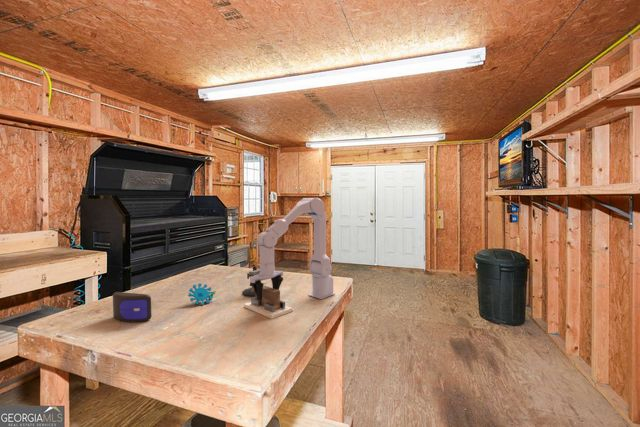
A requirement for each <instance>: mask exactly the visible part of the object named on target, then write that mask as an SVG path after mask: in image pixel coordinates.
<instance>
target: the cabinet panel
mask: <svg viewBox="0 0 640 427" xmlns="http://www.w3.org/2000/svg"><path fill="white" fill-rule="evenodd" d="M243 307H244V308H246V309H248V310H250V311H253V312H255V313H258V314H260V315H262V316H265V317H266V318H268V319H275V318H277V317H281V316H284V315H286V314H288V313H291V312H293V310H294V309H293V307H291V306H288V305H286V304H285V308H284V309H282V308H280V309H278V310H275V312H270V311H268V310H265V309H264V306H261V305H260V306H259V307H258V306H255V305H253V304H251V301H250V302H245V303H243Z"/></svg>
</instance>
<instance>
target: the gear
mask: <svg viewBox="0 0 640 427" xmlns="http://www.w3.org/2000/svg"><path fill="white" fill-rule="evenodd" d="M202 285H203V284H202V283H201V282H199V283H198V284H193V285H192V287H190V288H189V289H188V295H187V297H189V298H190V299H189V300H190V302H193V301H194V300H195V301H194V305H198V304H199V302H200V304H199V305H200V306H204V305H205V304H209V303H211V302H210V301H211V300H213V298H214V295H216V293H217V291H216V290H213V291H212V287H210V286H209V287H208V284H206V283H205V284H204V285H203V286H202ZM197 286H198V288H197ZM193 289H194V290H193Z"/></svg>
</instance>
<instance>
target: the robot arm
mask: <svg viewBox="0 0 640 427" xmlns="http://www.w3.org/2000/svg"><path fill="white" fill-rule="evenodd" d="M302 214H307V215H309V216H310V217H311V218H312V219H313V254H312V255H311V257H310V262H309V264H308V270H309V272H310V273H311V277H312V278H311V280H312V282H311V284H312V288H311V290H312V293H309V294H307V295H308V296H309V297H312V298H316V299H319V300H322V299H326V298H329V297H331V296H333V295H335V292H334V279H333V276H332V275H331V273H332V270H333V267H332V264H331V259H330V257H329V256H328V255H327V213H326V210H325V202H324V201H323V200H322V199H321V198H319V197H303V198H301V199H300V201H297V203H296V204H295V206H294V207H293V208H292V209H291V210H289V212H288V213H287V214H286V215H285V216H284V217H283V218H278V219H275V220H274V221H273V223H272V224H271V225H269V227H266V229H265V231H262V232H260V233H259V234H258V236H257V239H256V244H257V245H258V246H259V247H258V248H259V253H258V254H259V266H260V268H259V269H260V274H258V275H255V276H253V277H249V283H250V282H251V285H252V286H253V288H254V290H255V293H256V296H257V300H262V289H263V285H264V284H265V283H263V282H262V281H264V280H265V281H266V280H269V279H271V284H272V286H271V287H272V288H274V289H277V290H280V287H281V285H282V282H283V281H284V277H283V276H284V270H275V264H276V263H275V246H276V245H277V244H278V239H280V238H281V237H282V236H283V235H284V234H285V233H286V232H287V231H288V230H289V225H291V224H292V223H293V222H294V221H295V220H297V218H299V217H300V216H301V215H302ZM260 281H261V282H260ZM252 286H251V287H252ZM264 286H265V285H264Z"/></svg>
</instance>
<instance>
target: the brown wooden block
mask: <svg viewBox="0 0 640 427" xmlns="http://www.w3.org/2000/svg"><path fill="white" fill-rule="evenodd" d="M255 298H256V299H257V296H256V297H255ZM280 300H281V290H280V289H279V290H277V289H274V288H273V287H270V286H267V285H263V289H262V300H260V305H261V306H264V303H266V302H267V303H270V304H272V305H275V310H278V309H280Z"/></svg>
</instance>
